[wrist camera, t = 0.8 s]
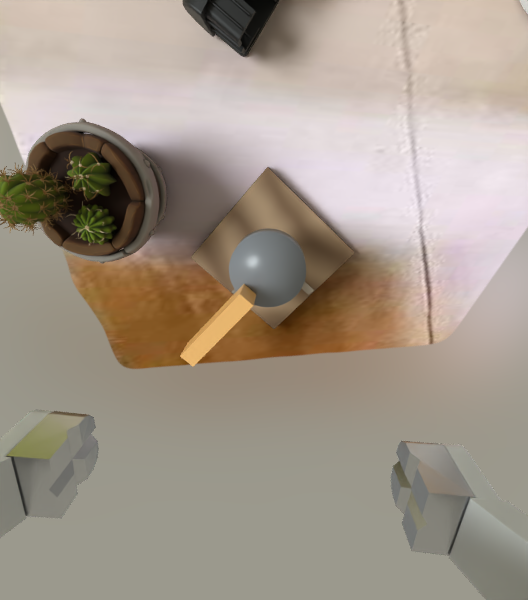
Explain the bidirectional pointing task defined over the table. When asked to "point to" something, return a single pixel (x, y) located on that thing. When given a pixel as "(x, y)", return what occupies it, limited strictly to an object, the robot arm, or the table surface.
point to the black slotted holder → (232, 19)
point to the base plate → (283, 216)
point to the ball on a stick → (253, 284)
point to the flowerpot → (86, 192)
